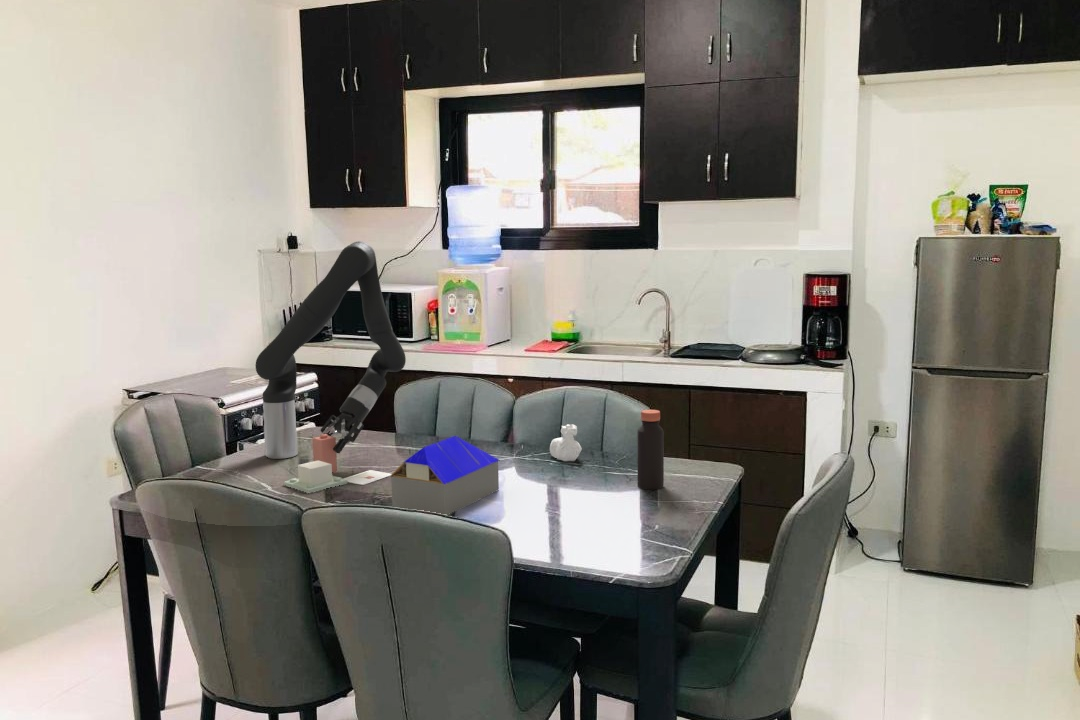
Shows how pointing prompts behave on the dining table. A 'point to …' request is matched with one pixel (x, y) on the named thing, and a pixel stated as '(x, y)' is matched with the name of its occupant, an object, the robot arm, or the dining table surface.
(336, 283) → the robot arm
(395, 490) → the house
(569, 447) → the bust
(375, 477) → the page
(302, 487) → the tower base
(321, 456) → the tall brick
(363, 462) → the dining table surface
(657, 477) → the bottle
